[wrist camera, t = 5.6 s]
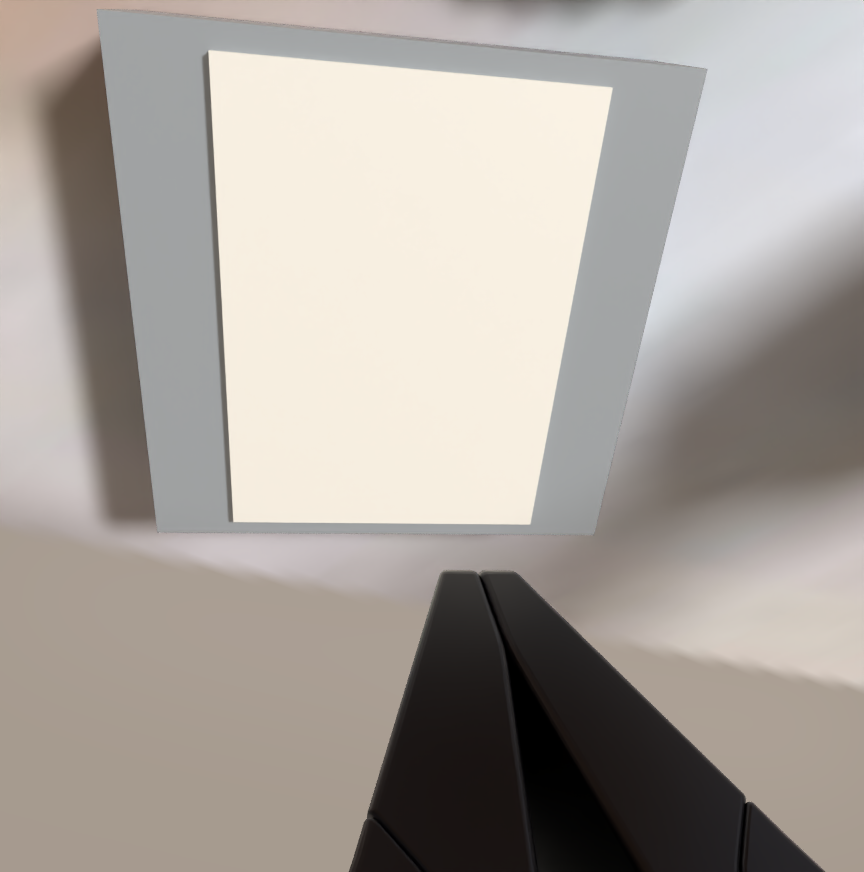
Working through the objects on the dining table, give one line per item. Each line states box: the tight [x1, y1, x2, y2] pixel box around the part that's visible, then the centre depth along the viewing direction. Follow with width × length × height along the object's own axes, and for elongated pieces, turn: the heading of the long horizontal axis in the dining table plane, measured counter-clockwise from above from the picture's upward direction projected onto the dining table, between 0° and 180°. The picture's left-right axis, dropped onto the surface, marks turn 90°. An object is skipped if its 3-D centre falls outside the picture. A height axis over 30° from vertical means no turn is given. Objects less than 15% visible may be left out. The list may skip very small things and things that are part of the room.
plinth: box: [97, 9, 707, 535], centre depth 19 cm, size 12×12×3 cm
